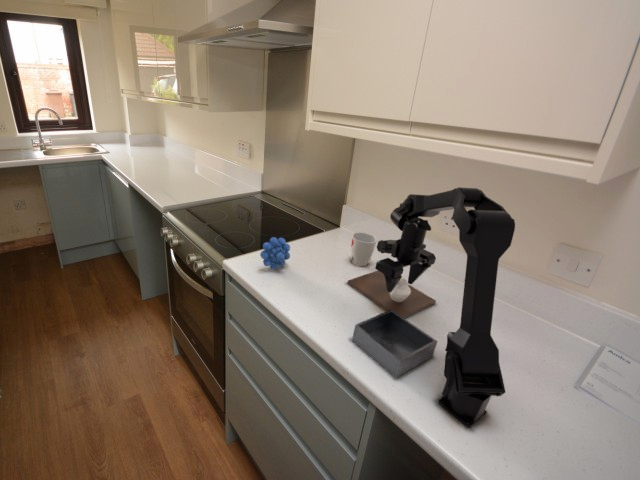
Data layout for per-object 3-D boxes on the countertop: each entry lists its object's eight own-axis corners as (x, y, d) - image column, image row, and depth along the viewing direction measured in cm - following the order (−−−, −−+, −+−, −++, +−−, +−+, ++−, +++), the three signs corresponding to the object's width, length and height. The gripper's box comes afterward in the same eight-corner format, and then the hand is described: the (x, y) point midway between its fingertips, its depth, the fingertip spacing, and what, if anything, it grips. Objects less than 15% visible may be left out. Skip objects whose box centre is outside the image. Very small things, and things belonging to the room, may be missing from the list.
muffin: (381, 294, 101) (386, 274, 99) (397, 291, 103) (402, 271, 101) (396, 307, 96) (401, 286, 93) (412, 303, 98) (418, 282, 95)
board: (435, 304, 100) (436, 300, 100) (399, 320, 93) (400, 316, 92) (381, 272, 116) (381, 269, 116) (347, 283, 108) (347, 280, 108)
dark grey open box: (432, 356, 81) (437, 341, 79) (396, 378, 74) (400, 361, 72) (387, 323, 91) (391, 309, 89) (351, 340, 85) (355, 324, 83)
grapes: (266, 279, 108) (268, 245, 104) (255, 269, 114) (257, 236, 109) (295, 271, 114) (299, 238, 109) (284, 261, 119) (287, 230, 114)
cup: (353, 254, 127) (358, 230, 123) (374, 262, 122) (380, 237, 118) (344, 262, 121) (348, 237, 117) (365, 271, 116) (371, 245, 112)
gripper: (408, 222, 103) (397, 267, 109) (365, 233, 94) (356, 281, 100) (443, 237, 94) (428, 284, 100) (399, 250, 85) (386, 302, 91)
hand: (399, 287), depth 98 cm, fingers open, 9 cm apart
